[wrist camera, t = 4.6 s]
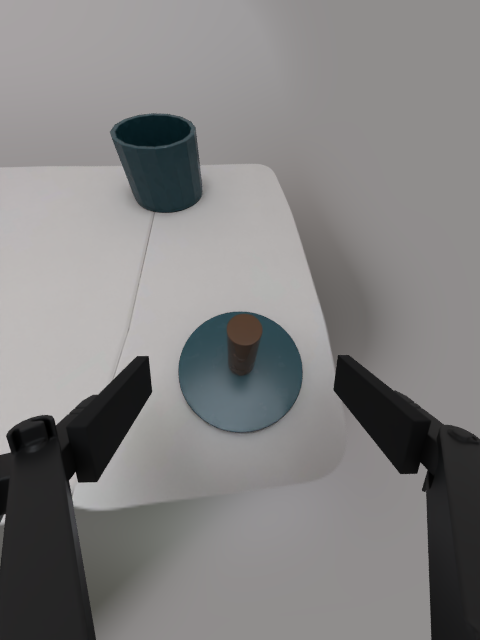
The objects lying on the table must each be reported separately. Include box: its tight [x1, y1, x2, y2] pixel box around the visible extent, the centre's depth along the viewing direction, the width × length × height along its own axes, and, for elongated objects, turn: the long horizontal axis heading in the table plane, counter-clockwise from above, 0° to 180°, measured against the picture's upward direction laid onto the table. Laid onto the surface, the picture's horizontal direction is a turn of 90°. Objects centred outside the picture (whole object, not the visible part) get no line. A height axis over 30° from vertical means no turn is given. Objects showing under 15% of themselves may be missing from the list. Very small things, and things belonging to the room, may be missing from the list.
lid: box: [178, 312, 303, 433], centre depth 21 cm, size 13×13×9 cm
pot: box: [110, 114, 202, 212], centre depth 38 cm, size 12×12×10 cm
